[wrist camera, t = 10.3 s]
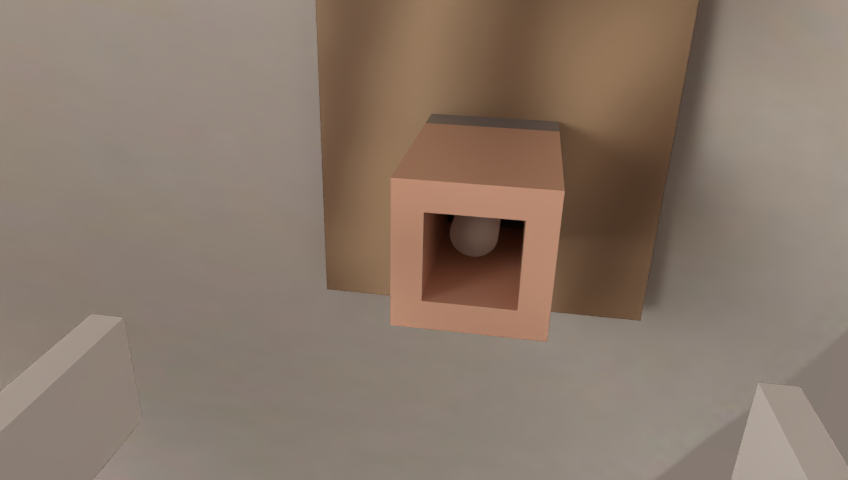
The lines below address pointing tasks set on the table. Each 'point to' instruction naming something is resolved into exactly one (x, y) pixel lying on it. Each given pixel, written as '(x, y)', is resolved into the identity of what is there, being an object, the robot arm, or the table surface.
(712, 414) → the table surface
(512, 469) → the table surface
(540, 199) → the terracotta sleeve
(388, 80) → the pin board
